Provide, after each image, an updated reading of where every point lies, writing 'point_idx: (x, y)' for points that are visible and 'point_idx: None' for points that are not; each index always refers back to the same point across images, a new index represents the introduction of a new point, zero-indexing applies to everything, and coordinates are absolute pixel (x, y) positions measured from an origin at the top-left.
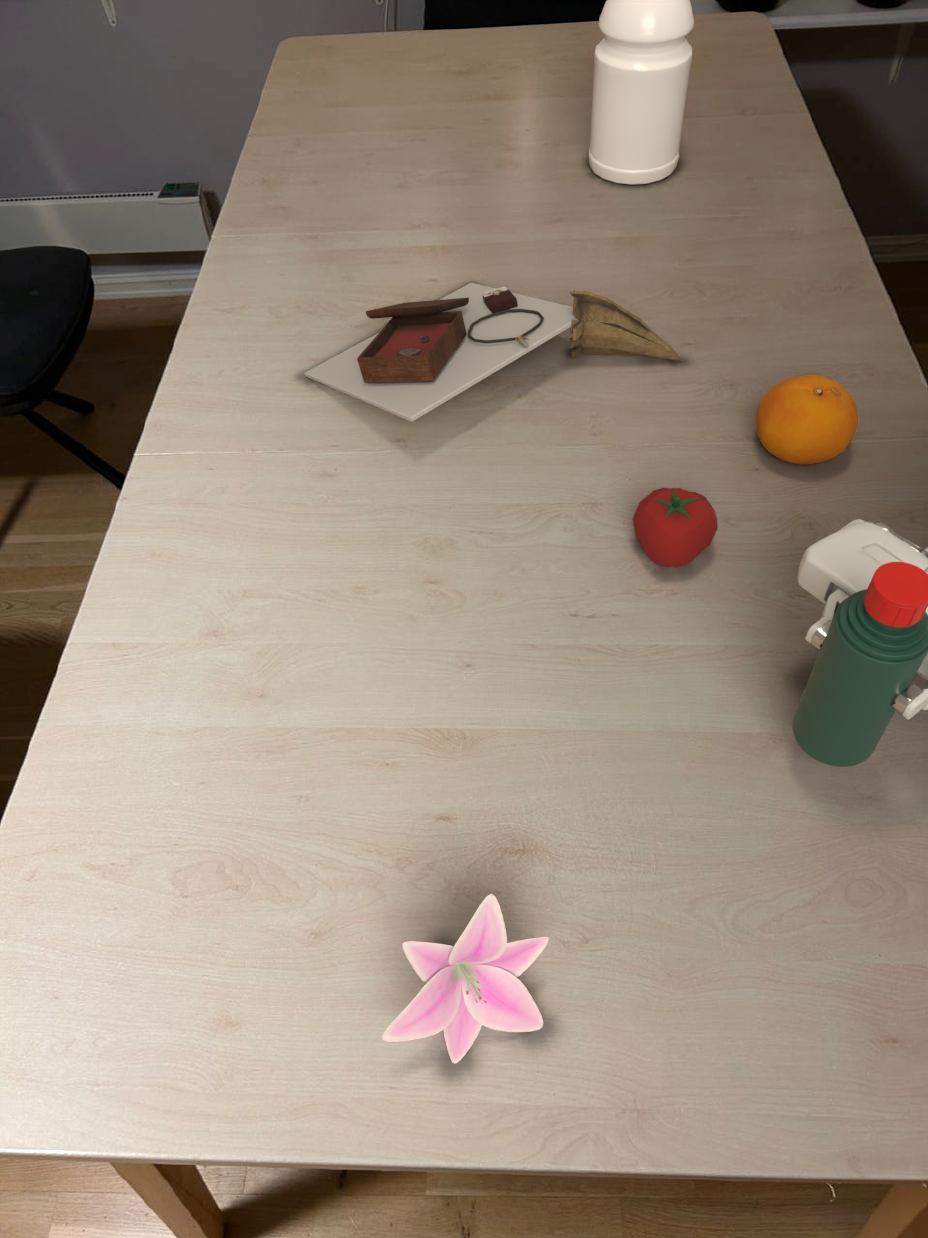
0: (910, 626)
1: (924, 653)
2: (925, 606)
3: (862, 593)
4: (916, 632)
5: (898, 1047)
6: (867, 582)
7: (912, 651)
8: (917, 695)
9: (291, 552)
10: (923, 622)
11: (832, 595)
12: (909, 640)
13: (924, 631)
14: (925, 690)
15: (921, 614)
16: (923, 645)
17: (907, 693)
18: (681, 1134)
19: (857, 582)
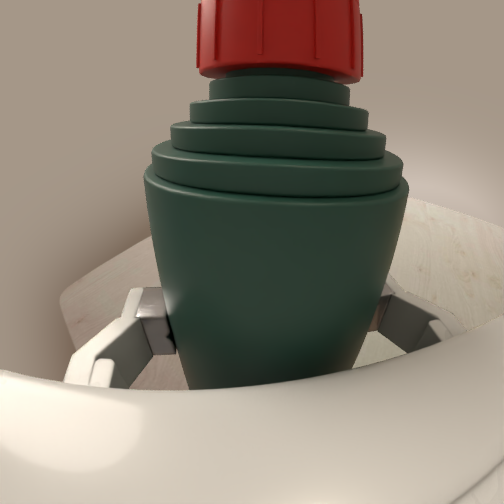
0: (209, 94)
1: (147, 168)
2: (200, 13)
3: (372, 130)
4: (190, 113)
5: (75, 320)
6: (487, 364)
7: (170, 140)
8: (140, 303)
9: (476, 242)
10: (202, 125)
11: (453, 319)
12: (189, 121)
13: (178, 125)
14: (133, 319)
15: (199, 41)
16: (158, 147)
17: (158, 292)
18: (141, 248)
19: (485, 342)
